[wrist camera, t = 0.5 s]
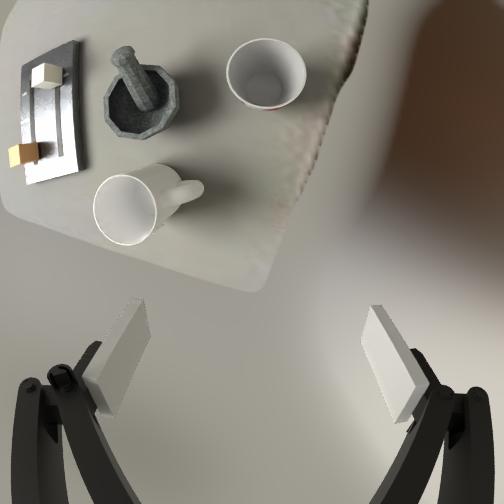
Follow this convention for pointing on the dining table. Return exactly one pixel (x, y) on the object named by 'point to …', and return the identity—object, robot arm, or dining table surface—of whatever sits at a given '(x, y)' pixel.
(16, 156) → the fader
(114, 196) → the mug
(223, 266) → the dining table surface
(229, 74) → the cup
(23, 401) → the robot arm
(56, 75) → the fader
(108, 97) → the mortar and pestle
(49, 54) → the console
